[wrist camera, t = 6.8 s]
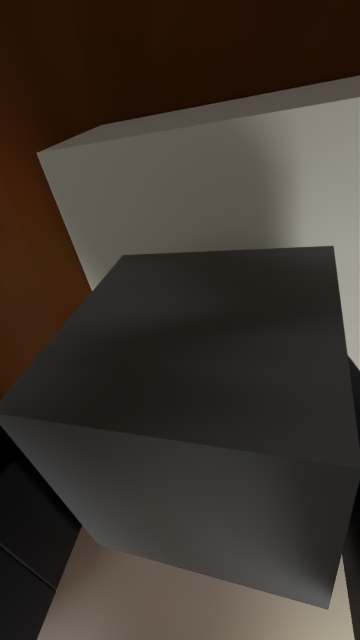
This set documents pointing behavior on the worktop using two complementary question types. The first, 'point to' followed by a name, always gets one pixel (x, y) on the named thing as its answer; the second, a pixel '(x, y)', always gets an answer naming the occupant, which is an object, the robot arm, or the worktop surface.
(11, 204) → the worktop surface
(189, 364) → the charcoal cube
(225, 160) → the cream base block
